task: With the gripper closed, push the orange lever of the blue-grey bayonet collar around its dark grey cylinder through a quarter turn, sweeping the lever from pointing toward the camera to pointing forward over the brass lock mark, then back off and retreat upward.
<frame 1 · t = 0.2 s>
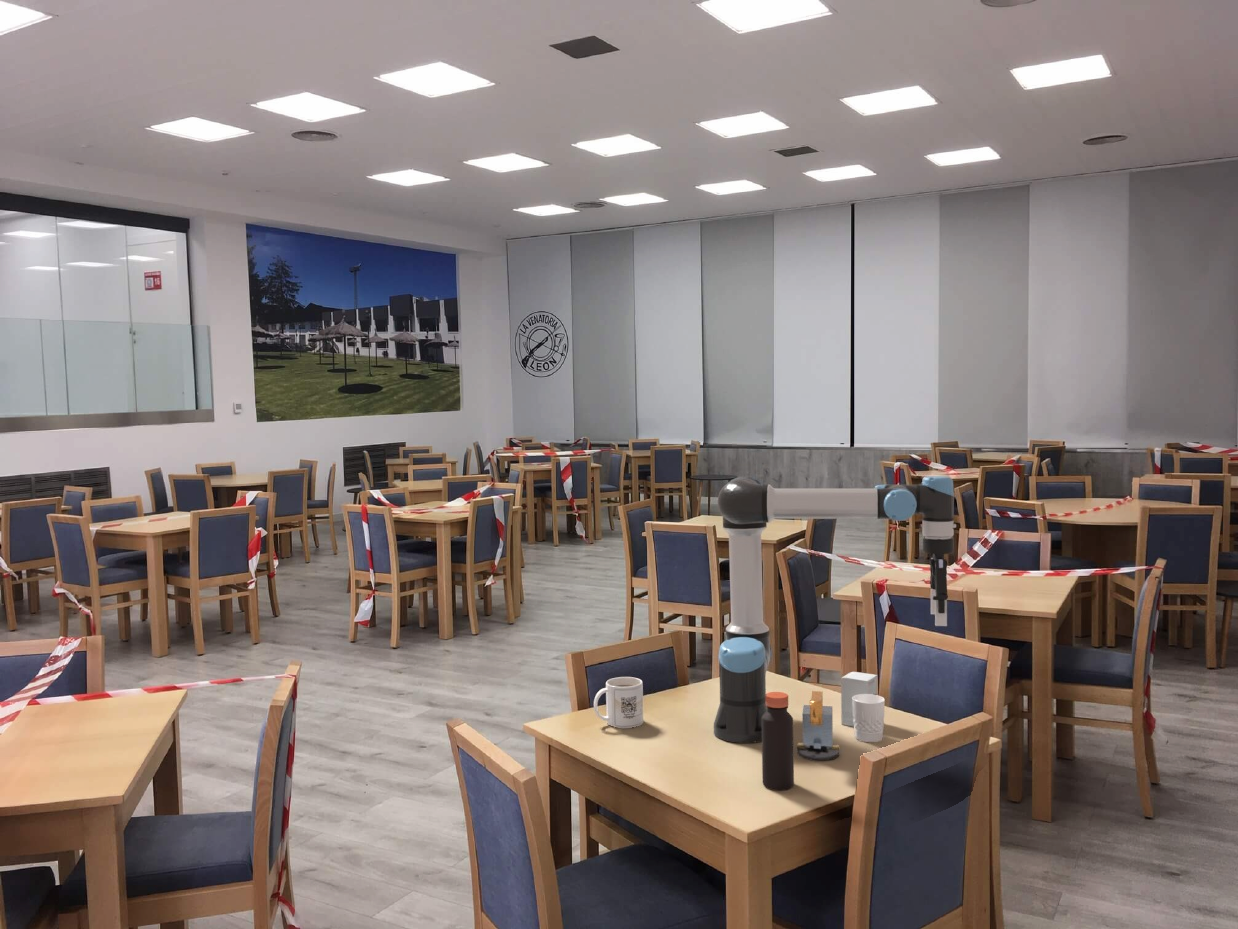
hand: (938, 620, 237), 28 cm above the table, fingers open, 13 cm apart
white cup: (868, 738, 232), on the table
collar: (817, 718, 218), point 9 cm above the table, hinge at 0.0°
dark grey cylinder: (818, 753, 222), on the table
supplement box: (859, 724, 243), on the table
mug: (620, 723, 248), on the table
bottle: (778, 785, 203), on the table
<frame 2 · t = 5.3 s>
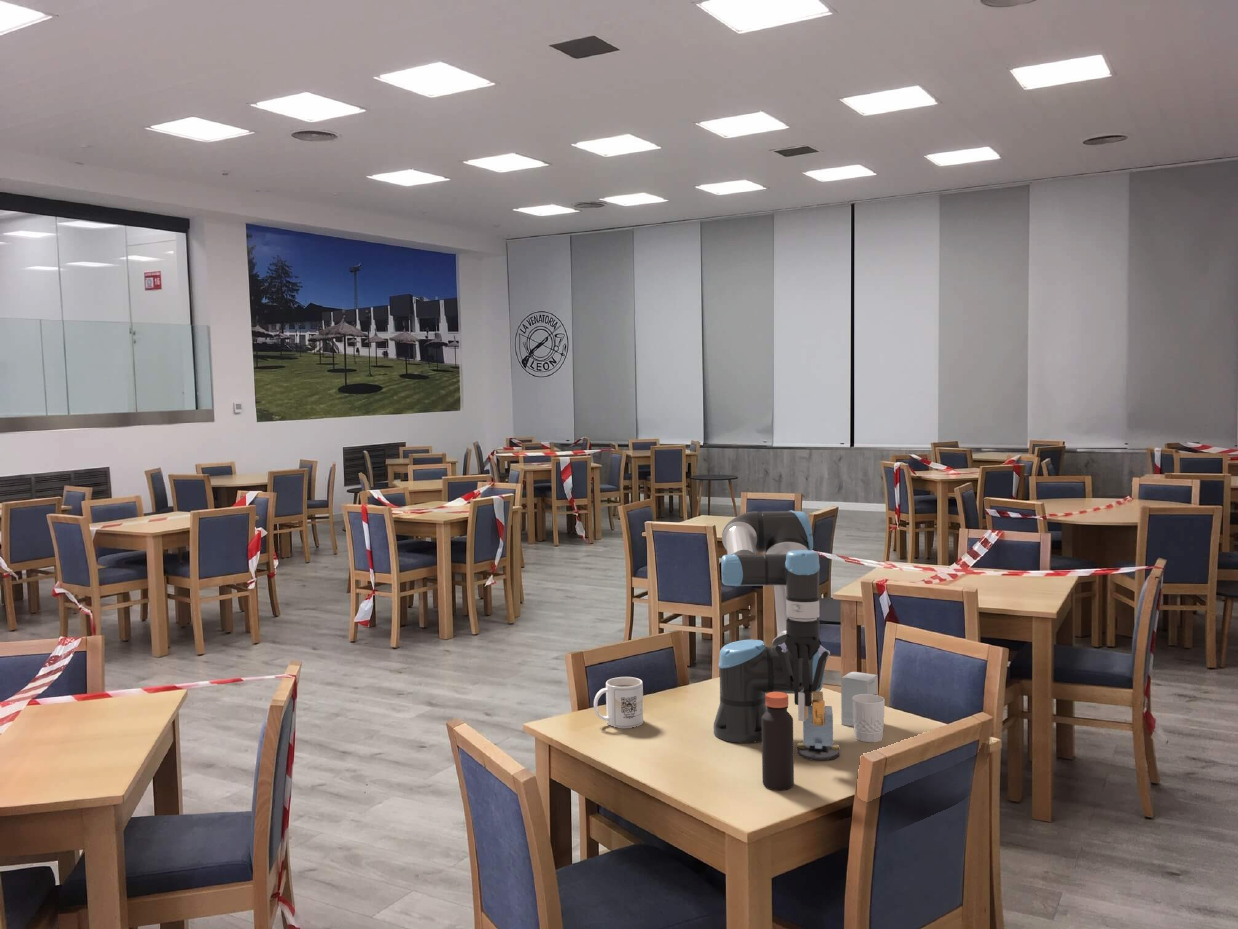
hand: (803, 719, 214), 11 cm above the table, fingers closed
collar: (817, 718, 218), point 9 cm above the table, hinge at 3.0°, touching gripper
everything else where it was.
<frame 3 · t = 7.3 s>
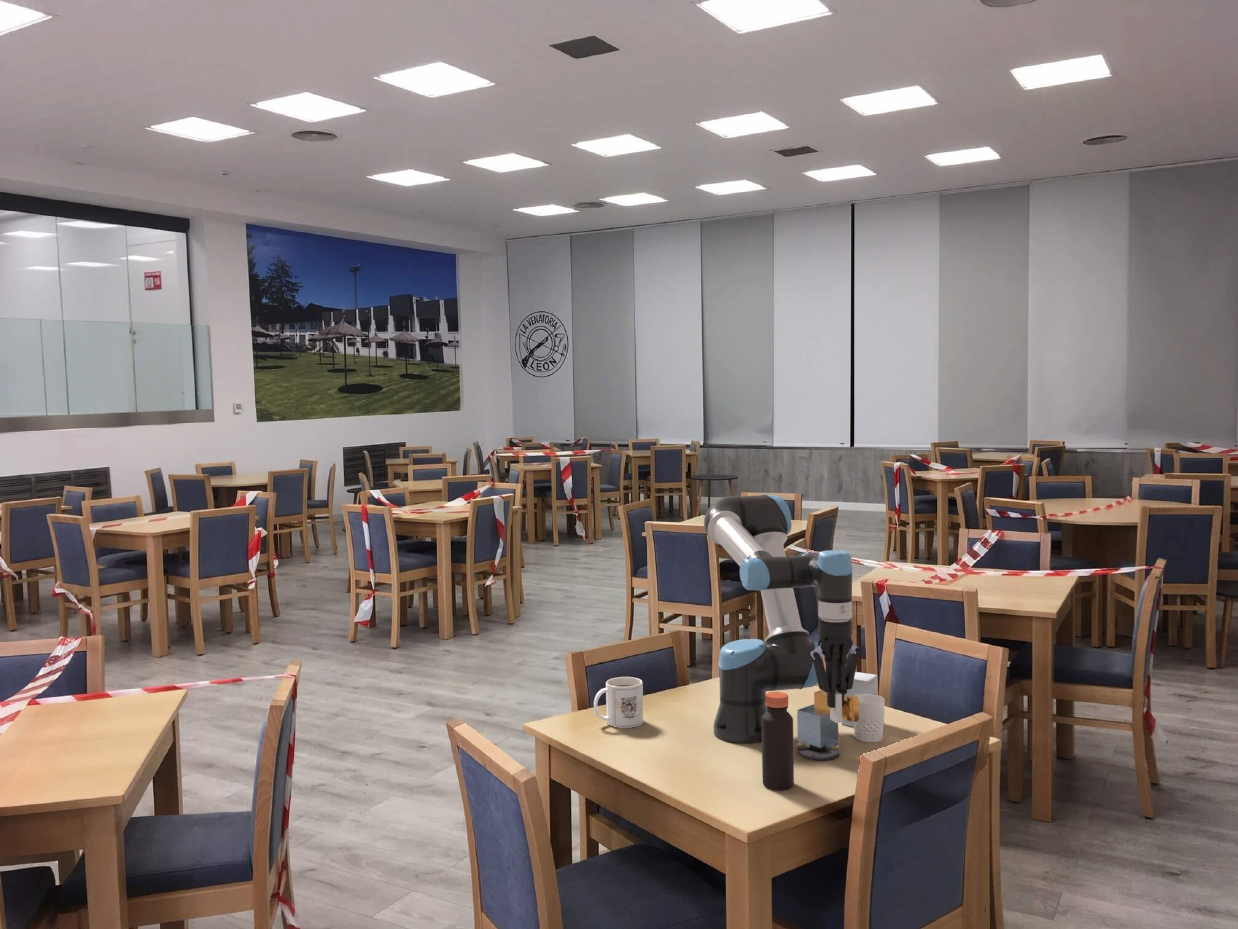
hand: (836, 720, 213), 11 cm above the table, fingers closed
collar: (828, 717, 219), point 9 cm above the table, hinge at 53.8°, touching gripper
everything else where it was.
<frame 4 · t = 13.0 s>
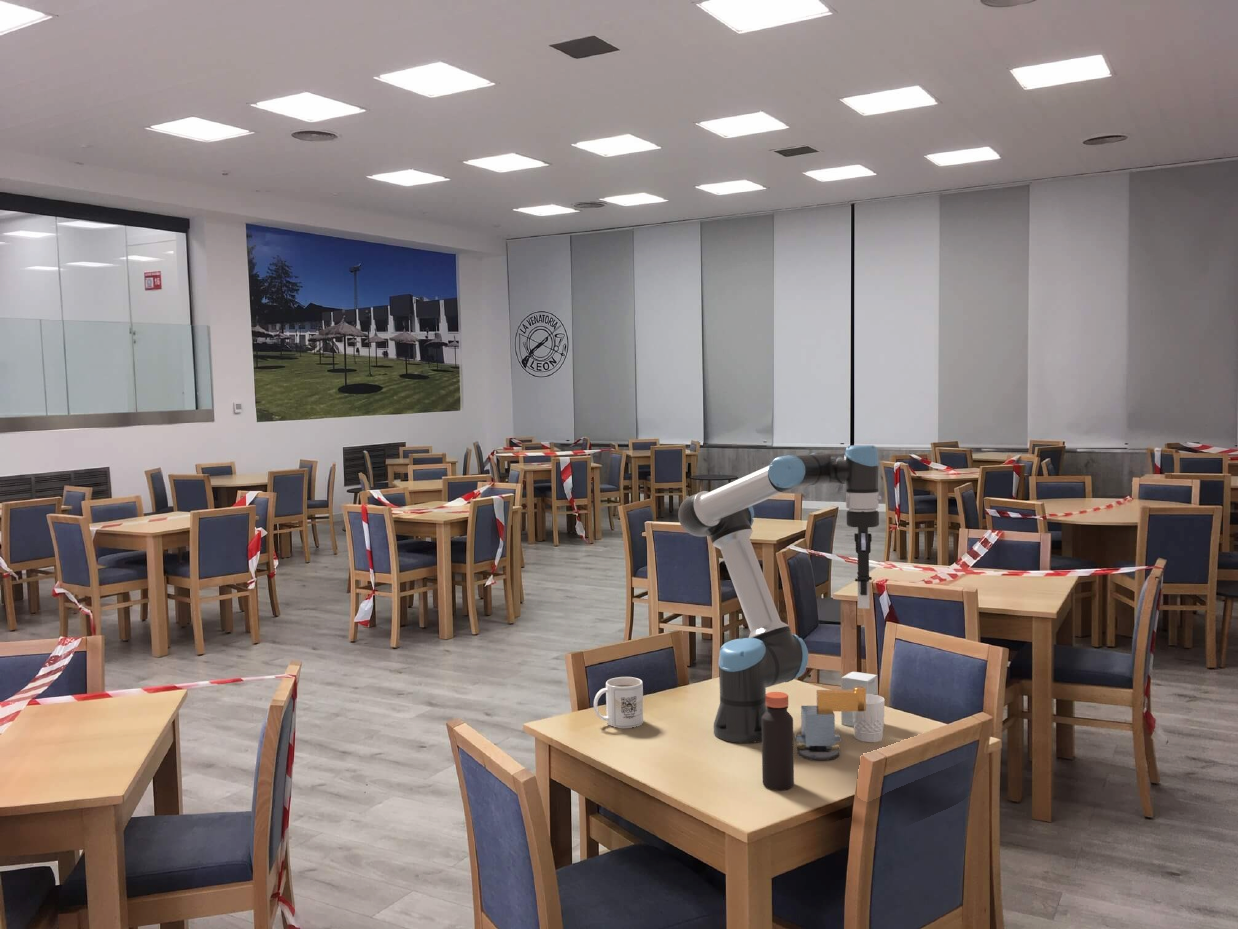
hand: (863, 607, 222), 34 cm above the table, fingers closed
collar: (830, 714, 221), point 9 cm above the table, hinge at 100.8°
everything else where it was.
at the end: collar at +101° (first picture: +0°); the gripper is holding nothing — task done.
